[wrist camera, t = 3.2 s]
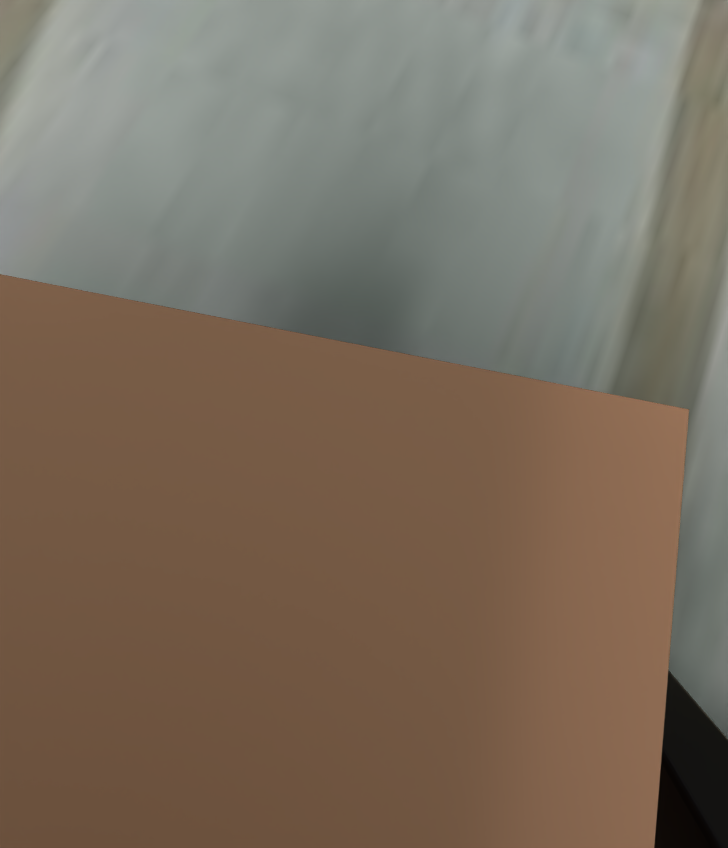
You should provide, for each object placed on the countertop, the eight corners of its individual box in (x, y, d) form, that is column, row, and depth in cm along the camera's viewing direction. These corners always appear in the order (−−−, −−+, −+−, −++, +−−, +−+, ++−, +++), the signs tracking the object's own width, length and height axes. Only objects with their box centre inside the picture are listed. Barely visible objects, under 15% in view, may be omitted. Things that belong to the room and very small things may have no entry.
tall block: (358, 746, 15) (592, 1643, 3) (120, 707, 15) (-792, 1522, 2) (397, 511, 16) (688, 408, 4) (176, 470, 16) (-271, 220, 4)
